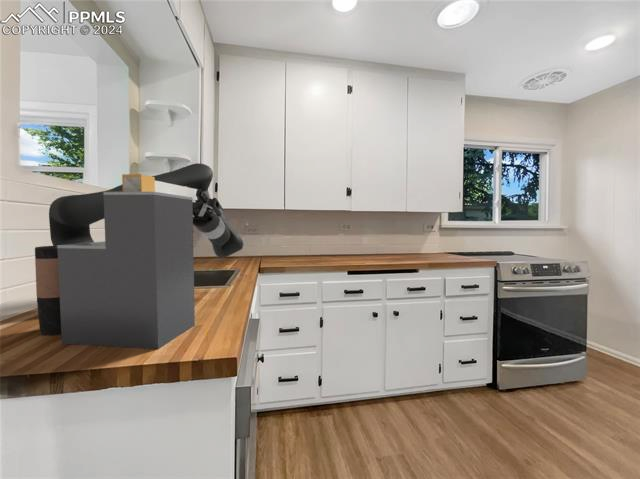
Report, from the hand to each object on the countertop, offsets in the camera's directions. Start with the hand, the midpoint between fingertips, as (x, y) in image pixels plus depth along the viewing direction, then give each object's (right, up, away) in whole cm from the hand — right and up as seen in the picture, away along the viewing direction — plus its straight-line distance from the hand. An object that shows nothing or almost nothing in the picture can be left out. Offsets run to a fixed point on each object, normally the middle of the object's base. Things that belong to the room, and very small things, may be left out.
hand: (182, 191), depth 77 cm
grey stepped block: (-7, -34, -9) cm, 36 cm away
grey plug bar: (-1, -2, -7) cm, 7 cm away
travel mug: (-26, -34, -7) cm, 44 cm away
